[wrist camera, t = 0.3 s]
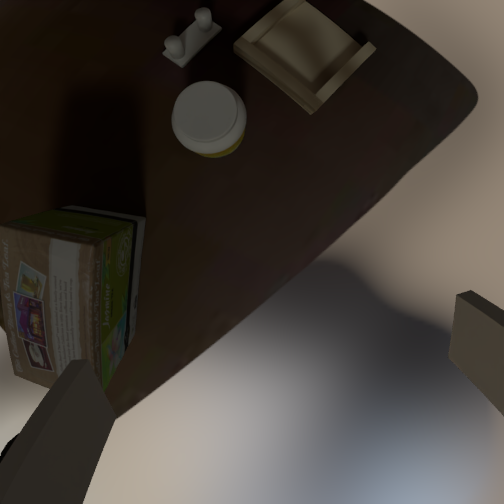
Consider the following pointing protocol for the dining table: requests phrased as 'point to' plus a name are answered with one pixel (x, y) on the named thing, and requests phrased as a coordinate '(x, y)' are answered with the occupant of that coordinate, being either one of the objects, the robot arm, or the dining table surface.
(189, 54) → the clip
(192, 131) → the pill bottle
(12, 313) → the tea box
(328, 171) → the dining table surface
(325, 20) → the square tray
